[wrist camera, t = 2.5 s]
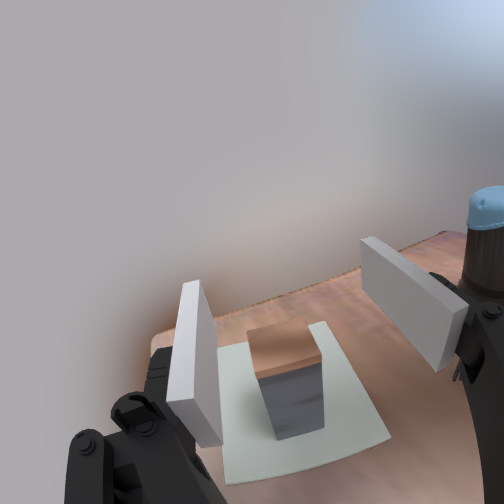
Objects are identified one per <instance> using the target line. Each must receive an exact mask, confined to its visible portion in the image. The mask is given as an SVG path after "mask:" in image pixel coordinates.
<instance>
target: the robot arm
mask: <svg viewBox="0 0 504 504" xmlns="http://www.w3.org/2000/svg"><path fill="white" fill-rule="evenodd" d="M467 226H468V232H467V241H466V250H465V257H464V264H463V271H462V277H461V279H460V281H459V283H458V285H457V287H456V286H455V285H454V284H453V283H450V281H448V280H447V279H446V278H444V277H443V276H441V275H438V274H436V273H433V272H430V273H427V272H425V271H424V270H423V269H421V268H420V267H418V266H417V265H416V264H414V263H413V262H411V261H410V260H408V259H407V258H406V257H404V256H403V255H401V254H400V253H398V252H397V251H395V250H394V249H392V248H391V247H389V246H388V245H386V244H385V243H383V242H382V241H380V240H379V239H377V238H376V237H374V236H371V237H367V238H364V239H360V246H361V247H360V248H361V276H362V289H363V290H364V291H365V292H366V293H367V295H368V296H369V297H370V298H371V299H372V300H373V301H374V302H375V303H376V304H377V305H378V306H379V308H380V309H381V310H382V311H383V312H384V313H385V314H386V315H387V316H388V317H389V319H390V320H391V321H392V322H393V323H394V324H395V325H396V326H397V328H398V329H399V330H400V331H401V332H402V333H403V334H404V335H405V337H406V338H407V339H408V340H409V341H410V342H411V343H412V345H413V346H414V347H415V348H416V349H417V350H418V352H419V353H420V354H421V355H422V356H423V358H424V359H425V360H426V361H427V362H428V364H429V365H430V366H431V367H432V368H433V370H434V371H435V372H436V373H437V372H439V371H440V370H442V369H444V368H445V367H447V366H449V365H450V364H451V363H452V360H453V357H454V354H455V353H456V354H457V355H458V356H459V357H460V360H459V363H458V365H457V368H456V370H455V373H454V375H453V382H454V381H456V379H457V377H458V374H459V372H460V377H459V380H462V381H463V385H464V388H465V391H466V395H467V398H468V402H469V406H470V410H471V414H472V418H473V422H474V427H475V432H476V437H477V442H478V448H479V454H480V460H481V467H482V476H483V486H484V502H485V504H504V186H493V187H487V188H483V189H480V190H478V191H476V192H475V193H474V194H473V195H472V197H471V199H470V202H469V213H468V219H467ZM148 370H149V371H148V373H147V380H146V382H145V387H144V392H137V391H136V392H132V393H128V394H126V395H124V396H123V397H121V398H119V400H118V401H117V402H116V403H115V404H114V406H113V408H112V410H111V419H112V420H113V421H114V422H115V423H116V424H117V425H118V426H119V427H120V428H121V429H122V431H120V432H117V433H114V434H110V435H107V436H103V435H102V434H101V433H100V432H98V431H96V430H94V429H86V430H82V431H81V432H79V433H78V434H76V435H75V437H74V438H73V439H72V441H71V444H70V448H69V456H68V464H67V473H66V484H65V499H64V500H65V501H64V504H227V502H226V501H225V499H224V497H223V496H222V494H221V493H220V491H219V490H218V488H217V486H216V485H215V483H214V481H213V480H212V478H211V476H210V475H209V473H208V471H207V470H206V468H205V466H204V464H203V462H202V461H201V459H200V457H199V456H198V455H197V454H196V445H195V441H196V442H197V444H198V445H199V446H200V447H201V448H206V447H215V446H222V445H224V442H223V430H222V418H221V405H220V390H219V375H218V357H217V336H216V326H215V323H214V320H213V317H212V315H211V312H210V309H209V306H208V303H207V300H206V297H205V294H204V291H203V288H202V285H201V282H200V280H196V281H191V282H188V283H184V284H183V289H182V295H181V300H180V306H179V312H178V318H177V324H176V330H175V337H174V343H173V346H170V347H165V348H159V349H157V350H156V352H155V353H154V355H153V356H152V357H151V359H150V364H149V368H148Z"/></svg>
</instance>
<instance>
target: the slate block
mask: <svg viewBox="0 0 504 504" xmlns="http://www.w3.org/2000/svg"><path fill="white" fill-rule="evenodd" d="M246 332H247V338H248V343H249V348H250V353H251V358H252V363H253V368H254V373H255V376H256V379H257V380H258V384H259V387H260V390H261V393H262V396H263V399H264V402H265V405H266V409H267V412H268V415H269V418H270V421H271V424H272V427H273V430H274V433H275V436H276V439H277V441H279V440H283V439H287V438H291V437H295V436H299V435H302V434H306V433H309V432H313V431H316V430H319V429H322V428H325V424H324V396H323V377H322V353H321V351H320V349H319V347H318V345H317V343H316V341H315V339H314V337H313V335H312V333H311V331H310V329H309V327H308V325H307V323H306V321H305V319H304V317H303V316H302V317H299V318H295V319H291V320H288V321H284V322H280V323H276V324H272V325H269V326H265V327H261V328H257V329H253V330H248V331H246Z"/></svg>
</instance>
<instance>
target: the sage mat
mask: <svg viewBox="0 0 504 504" xmlns="http://www.w3.org/2000/svg"><path fill="white" fill-rule="evenodd" d="M308 327H309V329H310V331H311V333H312V335H313V337H314V339H315V341H316V343H317V345H318V347H319V349H320V351H321V353H322V377H323V396H324V424H325V428H322V429H319V430H316V431H313V432H309V433H306V434H302V435H299V436H295V437H291V438H287V439H283V440H279V441H277V439H276V436H275V433H274V430H273V427H272V424H271V421H270V418H269V415H268V412H267V409H266V405H265V402H264V399H263V396H262V393H261V390H260V387H259V384H258V380H257V379H256V376H255V373H254V368H253V363H252V358H251V353H250V348H249V343H248V341H247V342H243V343H238V344H234V345H229V346H225V347H220V348H217V357H218V375H219V390H220V405H221V418H222V430H223V442H224V445H222V456H223V466H224V476H225V485H235V484H242V483H249V482H255V481H261V480H266V479H271V478H276V477H281V476H285V475H289V474H293V473H297V472H301V471H305V470H309V469H312V468H315V467H319V466H322V465H325V464H328V463H332V462H335V461H337V460H340V459H343V458H346V457H349V456H351V455H354V454H357V453H359V452H362V451H364V450H367V449H369V448H371V447H374V446H376V445H378V444H381V443H383V442H385V441H387V440H389V439H391V435H390V433H389V432H388V430H387V428H386V426H385V424H384V422H383V421H382V419H381V417H380V415H379V413H378V412H377V410H376V408H375V406H374V405H373V403H372V401H371V399H370V397H369V396H368V394H367V392H366V390H365V389H364V387H363V385H362V383H361V382H360V380H359V378H358V376H357V375H356V373H355V371H354V369H353V368H352V366H351V364H350V363H349V361H348V359H347V357H346V356H345V354H344V352H343V351H342V349H341V347H340V346H339V344H338V342H337V340H336V339H335V337H334V335H333V334H332V332H331V330H330V329H329V327H328V325H327V324H326V322H325V321H321V322H318V323H315V324H311V325H308Z"/></svg>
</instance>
